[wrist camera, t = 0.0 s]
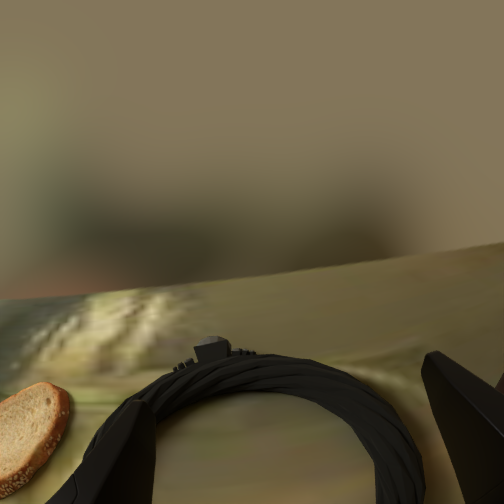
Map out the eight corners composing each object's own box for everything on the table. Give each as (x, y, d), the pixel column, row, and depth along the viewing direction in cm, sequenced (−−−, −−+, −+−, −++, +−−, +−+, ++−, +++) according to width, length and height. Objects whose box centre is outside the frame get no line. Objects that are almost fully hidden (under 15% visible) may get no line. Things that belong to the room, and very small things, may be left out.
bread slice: (77, 387, 31) (61, 366, 29) (58, 520, 15) (32, 506, 13) (-13, 394, 29) (-27, 377, 27) (-43, 493, 13) (-64, 477, 11)
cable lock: (62, 623, 4) (91, 356, 30) (92, 625, 6) (106, 378, 32) (491, 558, 6) (336, 301, 32) (467, 564, 8) (337, 327, 34)
